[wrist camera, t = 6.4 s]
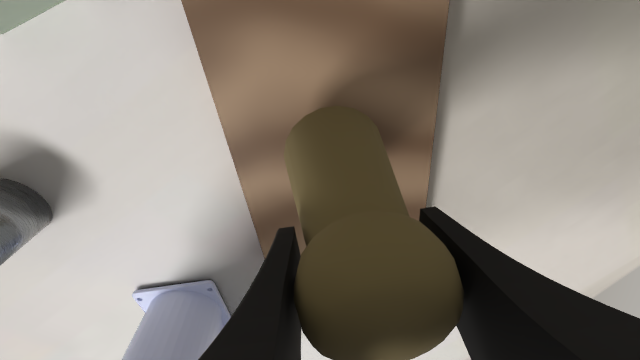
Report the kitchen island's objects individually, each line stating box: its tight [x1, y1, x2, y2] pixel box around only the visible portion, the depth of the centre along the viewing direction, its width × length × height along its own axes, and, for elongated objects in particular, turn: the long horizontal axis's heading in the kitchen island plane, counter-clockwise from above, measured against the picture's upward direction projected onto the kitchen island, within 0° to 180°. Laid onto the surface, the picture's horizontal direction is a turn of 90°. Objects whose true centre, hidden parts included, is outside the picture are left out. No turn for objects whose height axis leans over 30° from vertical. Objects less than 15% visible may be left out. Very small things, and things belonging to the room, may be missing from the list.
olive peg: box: [284, 106, 464, 360], centre depth 12 cm, size 6×6×11 cm
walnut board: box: [181, 0, 449, 258], centre depth 19 cm, size 22×14×2 cm, turn 7°
